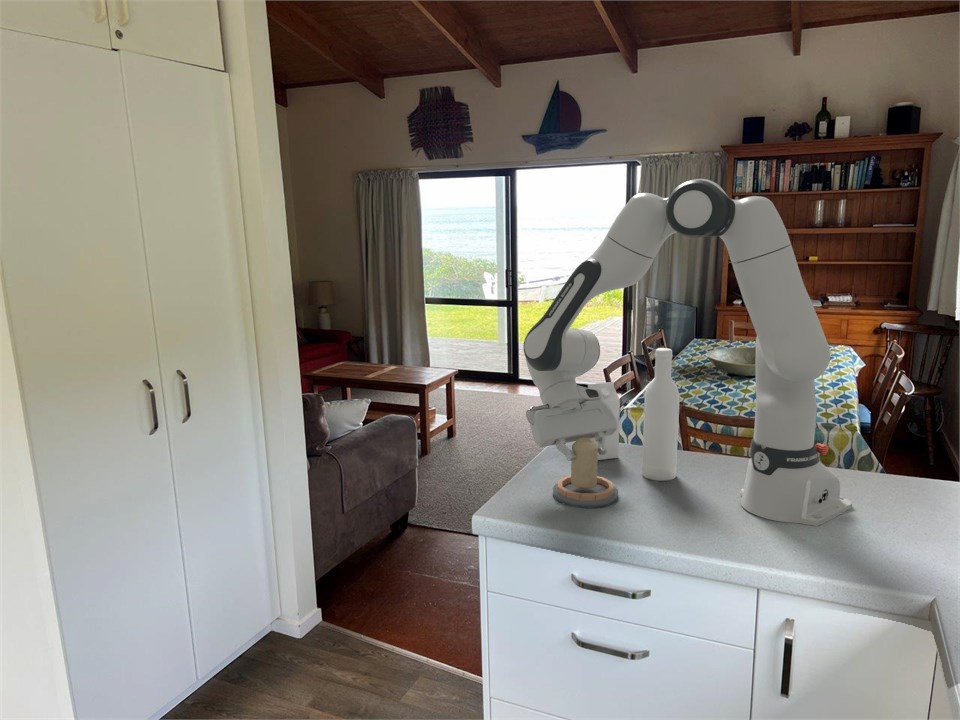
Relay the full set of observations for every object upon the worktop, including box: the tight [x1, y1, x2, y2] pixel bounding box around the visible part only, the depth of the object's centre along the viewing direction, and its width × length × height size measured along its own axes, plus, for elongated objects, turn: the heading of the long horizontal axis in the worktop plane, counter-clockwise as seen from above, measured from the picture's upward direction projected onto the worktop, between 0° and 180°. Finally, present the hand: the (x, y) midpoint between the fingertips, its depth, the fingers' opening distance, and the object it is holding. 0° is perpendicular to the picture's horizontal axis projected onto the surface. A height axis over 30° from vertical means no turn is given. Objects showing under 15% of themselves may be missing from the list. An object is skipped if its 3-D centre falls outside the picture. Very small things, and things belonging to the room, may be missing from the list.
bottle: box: [641, 347, 681, 482], centre depth 153 cm, size 8×8×30 cm
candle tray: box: [552, 475, 619, 509], centre depth 144 cm, size 14×14×2 cm
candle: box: [570, 438, 598, 488], centre depth 143 cm, size 6×6×10 cm
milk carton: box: [587, 381, 621, 461], centre depth 168 cm, size 7×7×19 cm
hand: (587, 456), depth 142 cm, fingers open, 6 cm apart
